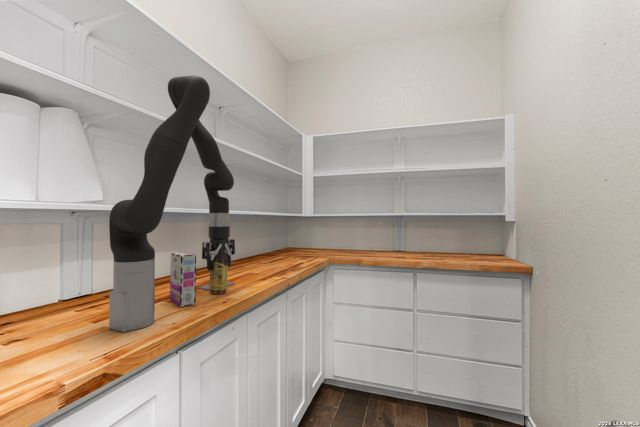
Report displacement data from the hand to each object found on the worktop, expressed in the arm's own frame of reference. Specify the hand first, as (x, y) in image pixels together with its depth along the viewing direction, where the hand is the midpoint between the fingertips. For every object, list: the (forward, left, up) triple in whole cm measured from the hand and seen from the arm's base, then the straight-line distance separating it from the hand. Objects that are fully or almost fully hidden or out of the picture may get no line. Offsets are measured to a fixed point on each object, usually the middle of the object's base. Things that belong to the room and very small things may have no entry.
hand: (219, 268), depth 107 cm
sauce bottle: (0, 0, -9) cm, 9 cm away
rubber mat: (+7, +8, -9) cm, 14 cm away
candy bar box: (-14, +2, -9) cm, 17 cm away
